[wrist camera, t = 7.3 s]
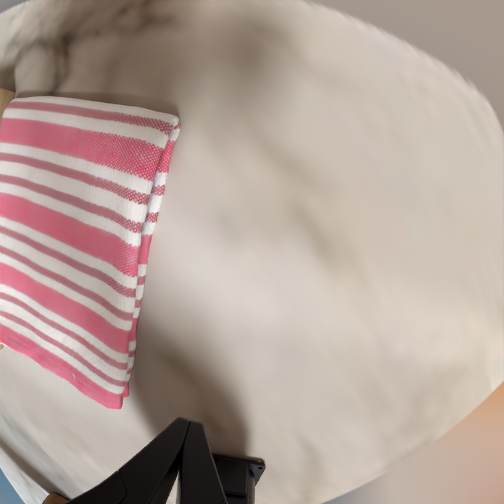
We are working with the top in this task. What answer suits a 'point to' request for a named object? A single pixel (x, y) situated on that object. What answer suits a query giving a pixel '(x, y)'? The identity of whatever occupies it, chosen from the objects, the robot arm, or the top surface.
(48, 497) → the block
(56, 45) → the top surface
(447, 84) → the top surface
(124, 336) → the dish towel
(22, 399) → the top surface
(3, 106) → the tan wooden bar
